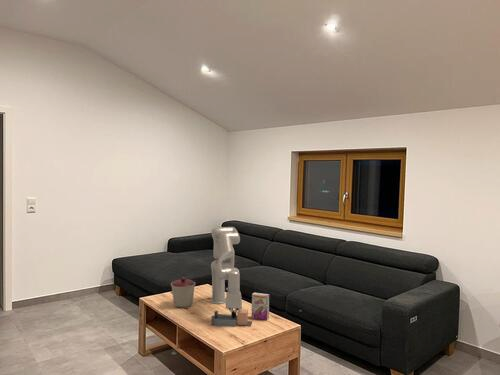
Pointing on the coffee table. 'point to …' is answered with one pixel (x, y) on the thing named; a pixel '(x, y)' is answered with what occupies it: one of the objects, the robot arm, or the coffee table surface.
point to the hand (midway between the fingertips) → (233, 317)
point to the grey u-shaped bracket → (223, 319)
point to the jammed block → (242, 317)
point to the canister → (183, 292)
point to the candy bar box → (260, 306)
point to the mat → (247, 324)
